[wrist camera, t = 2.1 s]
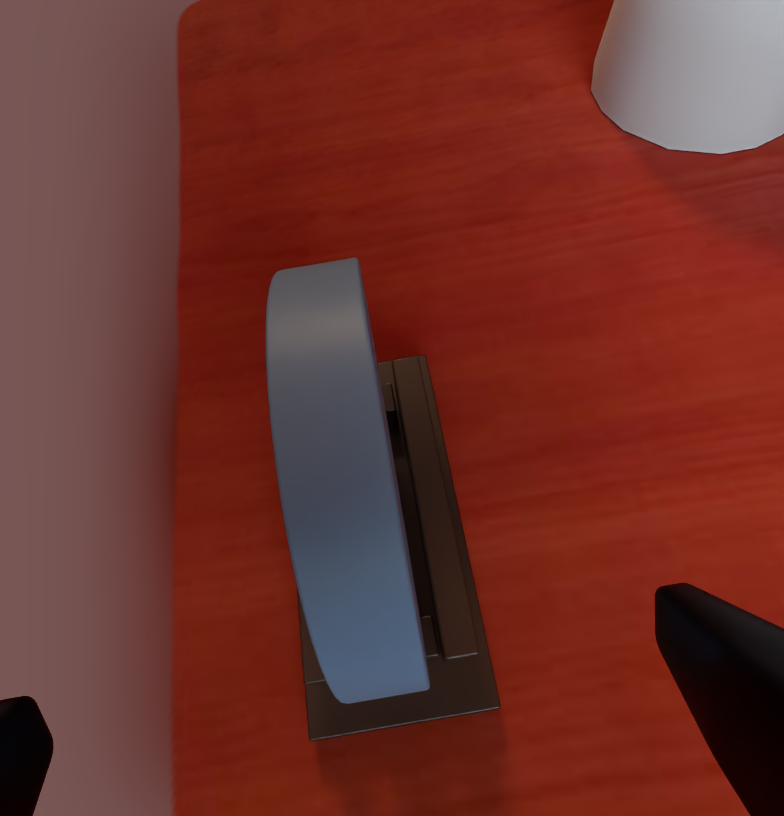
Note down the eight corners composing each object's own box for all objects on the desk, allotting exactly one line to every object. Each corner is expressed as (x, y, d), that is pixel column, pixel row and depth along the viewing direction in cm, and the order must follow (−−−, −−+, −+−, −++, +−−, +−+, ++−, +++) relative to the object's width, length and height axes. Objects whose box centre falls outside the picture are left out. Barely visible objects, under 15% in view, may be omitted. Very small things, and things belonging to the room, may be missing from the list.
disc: (431, 683, 18) (429, 702, 8) (368, 694, 18) (289, 726, 8) (381, 381, 23) (340, 153, 13) (331, 389, 23) (251, 168, 13)
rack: (498, 707, 18) (511, 711, 15) (314, 739, 18) (290, 749, 15) (426, 366, 24) (424, 318, 21) (287, 389, 24) (265, 345, 21)
